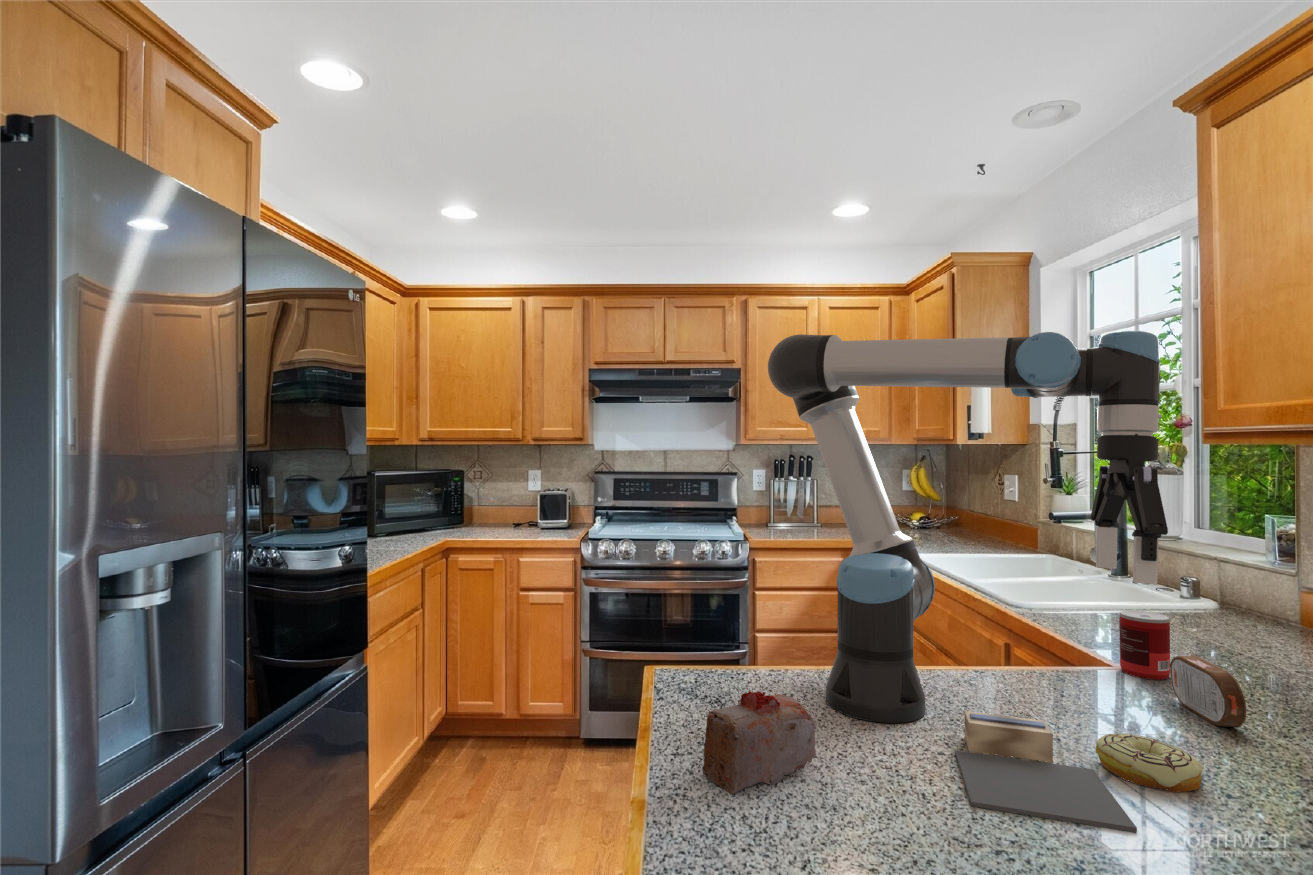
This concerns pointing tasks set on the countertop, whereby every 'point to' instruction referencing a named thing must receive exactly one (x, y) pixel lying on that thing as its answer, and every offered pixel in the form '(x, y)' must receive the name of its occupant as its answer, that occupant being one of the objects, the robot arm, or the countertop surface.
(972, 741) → the card box
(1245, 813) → the countertop surface
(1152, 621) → the canned food
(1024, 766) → the mat
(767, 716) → the food item
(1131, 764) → the decorated donut
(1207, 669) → the tin
